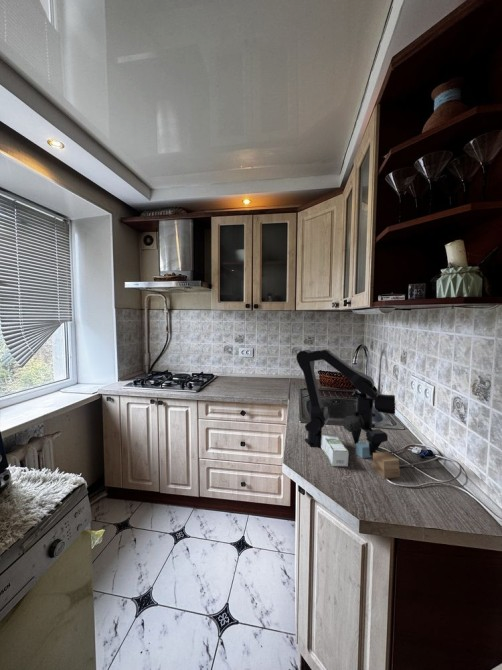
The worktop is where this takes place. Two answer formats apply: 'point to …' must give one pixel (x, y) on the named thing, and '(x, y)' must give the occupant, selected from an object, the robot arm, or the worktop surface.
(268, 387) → the worktop surface
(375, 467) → the tower base
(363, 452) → the blue block
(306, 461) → the worktop surface
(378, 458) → the tower mid
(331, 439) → the syrup box
